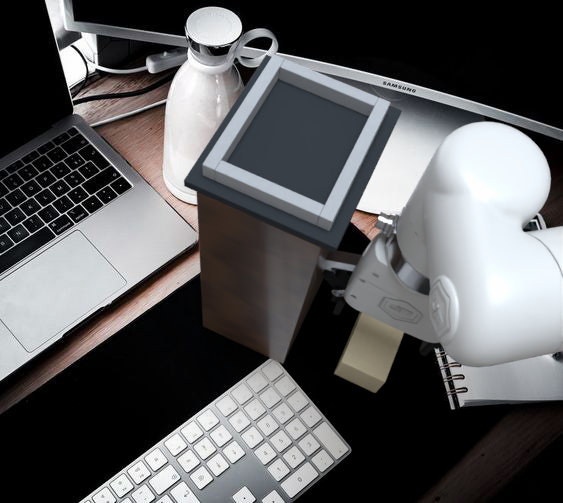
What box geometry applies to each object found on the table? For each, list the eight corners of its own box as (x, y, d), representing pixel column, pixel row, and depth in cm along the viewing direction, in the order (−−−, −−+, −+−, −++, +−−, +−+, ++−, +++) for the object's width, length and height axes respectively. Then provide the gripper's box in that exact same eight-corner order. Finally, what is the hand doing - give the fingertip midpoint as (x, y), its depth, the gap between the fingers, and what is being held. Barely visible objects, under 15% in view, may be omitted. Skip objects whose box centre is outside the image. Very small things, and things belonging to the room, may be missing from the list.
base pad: (399, 116, 50) (407, 98, 48) (334, 253, 44) (340, 239, 42) (265, 61, 51) (267, 40, 49) (183, 186, 45) (182, 169, 43)
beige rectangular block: (401, 324, 72) (412, 310, 68) (375, 393, 68) (385, 382, 64) (362, 306, 73) (370, 291, 69) (333, 373, 68) (340, 361, 64)
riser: (330, 263, 75) (388, 111, 50) (283, 364, 68) (322, 248, 44) (256, 230, 76) (276, 65, 51) (202, 326, 70) (196, 191, 45)
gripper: (317, 241, 48) (292, 317, 63) (528, 336, 46) (450, 391, 61) (353, 170, 51) (320, 258, 66) (550, 256, 49) (471, 327, 65)
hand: (382, 322), depth 64 cm, fingers open, 9 cm apart
